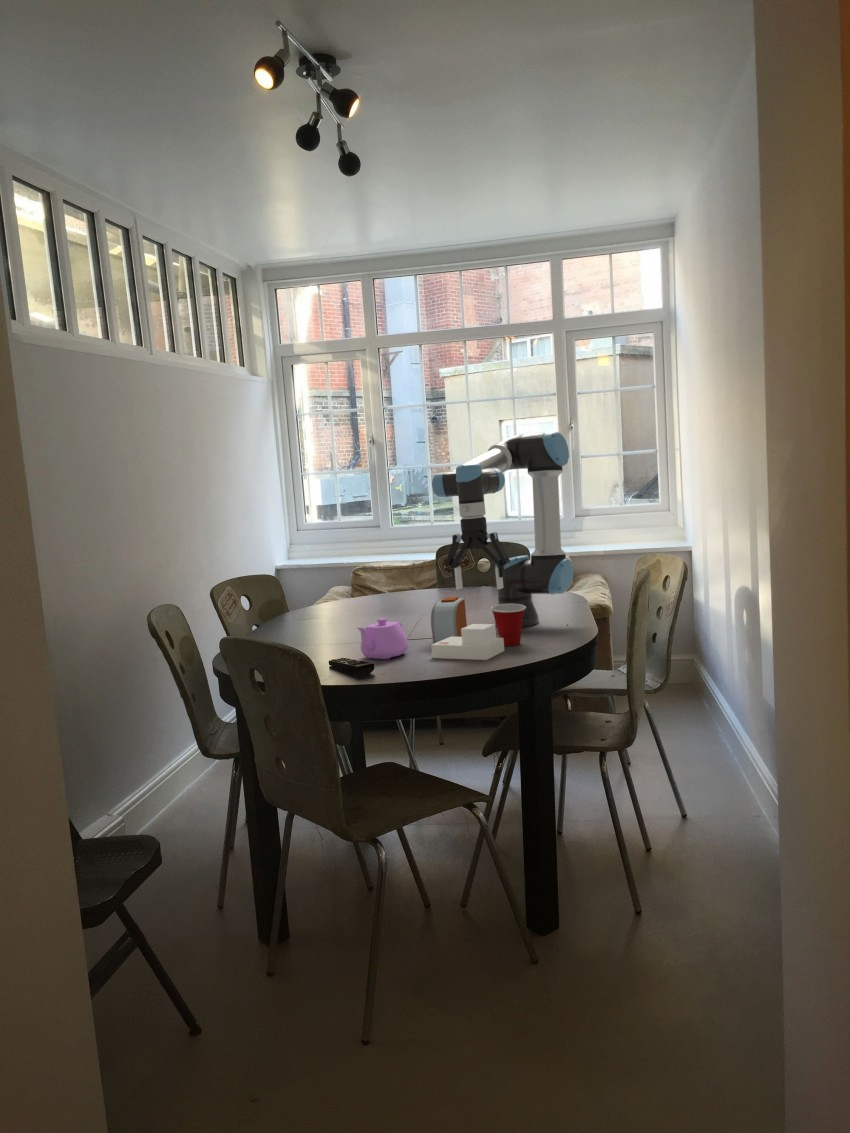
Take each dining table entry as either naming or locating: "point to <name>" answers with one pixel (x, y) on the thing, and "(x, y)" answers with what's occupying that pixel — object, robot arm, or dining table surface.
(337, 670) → the dining table surface
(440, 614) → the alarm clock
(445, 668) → the dining table surface
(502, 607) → the plastic cup
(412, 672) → the dining table surface
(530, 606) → the robot arm
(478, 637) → the plug
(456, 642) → the socket
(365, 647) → the teapot
